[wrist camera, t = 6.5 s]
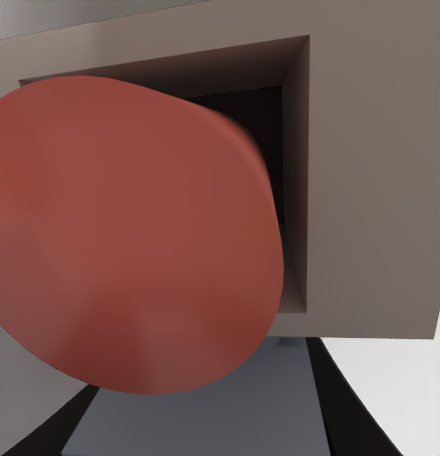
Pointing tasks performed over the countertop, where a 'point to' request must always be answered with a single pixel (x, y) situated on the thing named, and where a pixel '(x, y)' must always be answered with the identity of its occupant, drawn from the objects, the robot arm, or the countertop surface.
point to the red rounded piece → (134, 235)
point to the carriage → (215, 413)
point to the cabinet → (305, 136)
